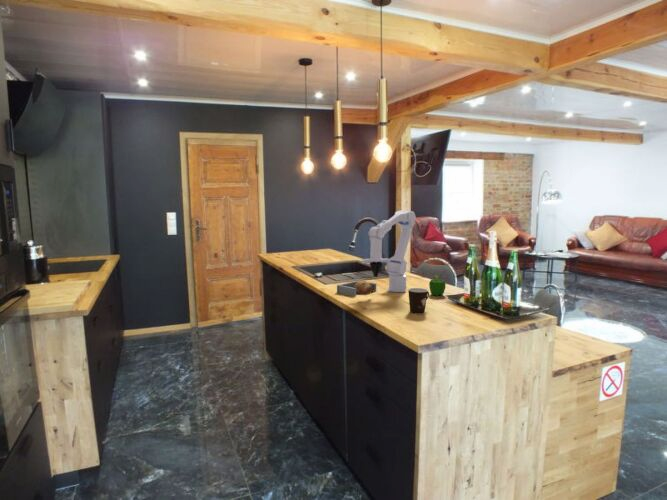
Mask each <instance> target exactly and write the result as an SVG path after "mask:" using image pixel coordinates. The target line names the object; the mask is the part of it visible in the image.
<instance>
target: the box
mask: <svg viewBox="0 0 667 500" xmlns="http://www.w3.org/2000/svg"><path fill="white" fill-rule="evenodd" d="M358 281H361V280H354V281H350V282H346V283H340V284H336V293H337V294H341V295H346V296H351V297H357V293H356V288H354V285H355V284H356V283H357V282H358ZM367 282H368V283H370V284H371V286H372V292H373V291H374V292H377V282H376V283H375V282H370V281H367Z"/></svg>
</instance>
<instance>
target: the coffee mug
mask: <svg viewBox="0 0 667 500" xmlns="http://www.w3.org/2000/svg"><path fill="white" fill-rule="evenodd" d="M407 291H408V302H409V303H408V304H409V312H410V313H411V314H415V313H423V314H425V313H426V312H425V311H426V306H427V300H428V299H429V296H430V293H429V290H428V289H427V288H423V287H422V288H421V287H410V288H408V289H407Z"/></svg>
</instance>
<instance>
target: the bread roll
mask: <svg viewBox="0 0 667 500" xmlns="http://www.w3.org/2000/svg"><path fill="white" fill-rule="evenodd" d="M357 281H358V280H357ZM368 282H369V281H366V280H360V281H358V282H357V283H356V284H355V285H354V288H356V294H359V295H367V294H371V293H372V292H373V291H372V286H371V284H370V283H368Z"/></svg>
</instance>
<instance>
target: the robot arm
mask: <svg viewBox="0 0 667 500" xmlns="http://www.w3.org/2000/svg"><path fill="white" fill-rule="evenodd" d="M416 219H417V217H416V213H415V212H414V211H413V210H411V211H410V210H401V209H400V210H397V211H395V212H394V215H393V216H391V217H390V218H389V219H388V220H387V219H386V220H385V219H383V220H381V222H380V223H379V224H376V226H371V228H370V229H369V230H368V232H367V235H368V237H369V242H370V253H369V254H370V255H369V256H370V258H362V259H361V264H369V265H370V268H371V269H372V270H371V271H372V274H373V277H375V278H377V277H378V276H379V272H380V270H381V267H382V266H383V263H386V267H385V268H386V272H387V274H388V275H389V276H388V288H387V292H393V293H394V292H395V293H406V291H407V286H408V285H407V274H405V273H407V265H408V263H407V261H406V259H405V255H406V253H407V248H408V245H409V243H410V242H409V241H410V238H411V235H412V232H413V228H414V226H415V223H416ZM396 224H398V226H399V227H400V228H401V232H400V236H399V239H398V241H397V246H396V249H395V251H394V255H393V256H391V257H390V258H386V257H384V258H383V253H382V252H383V250H382V249H383V238H384V237H385V235H386V234H387V233H388V232H389V231H391V230H392V226H394V225H396Z"/></svg>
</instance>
